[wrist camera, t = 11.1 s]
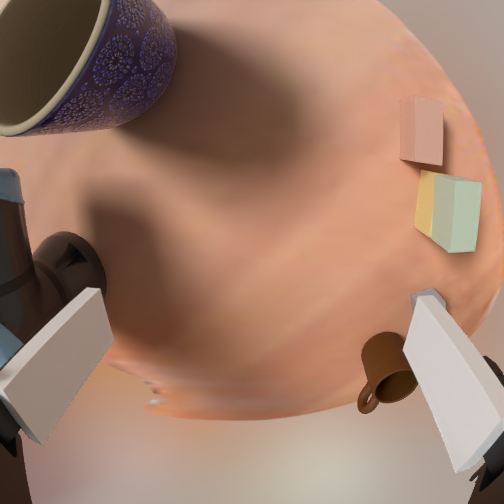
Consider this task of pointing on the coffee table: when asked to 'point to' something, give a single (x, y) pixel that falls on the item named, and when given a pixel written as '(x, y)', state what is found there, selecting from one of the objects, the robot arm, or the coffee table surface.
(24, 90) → the planter
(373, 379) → the mug
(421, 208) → the mustard brick
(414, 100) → the terracotta brick
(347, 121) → the coffee table surface
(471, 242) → the sage brick
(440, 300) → the slate brick
